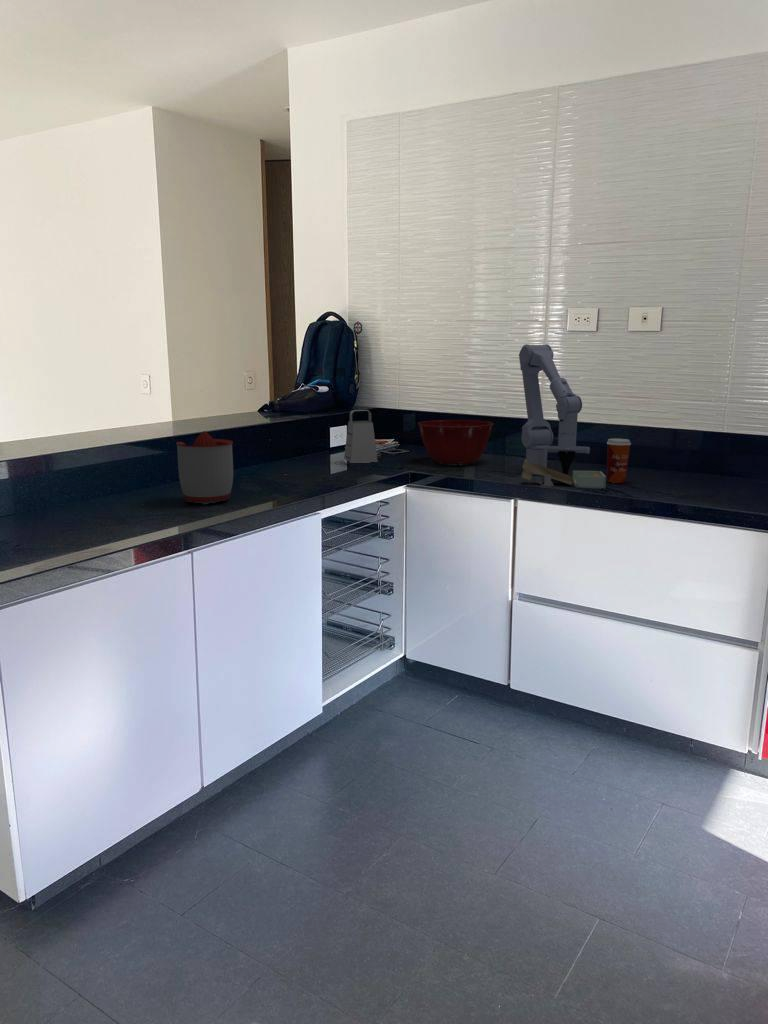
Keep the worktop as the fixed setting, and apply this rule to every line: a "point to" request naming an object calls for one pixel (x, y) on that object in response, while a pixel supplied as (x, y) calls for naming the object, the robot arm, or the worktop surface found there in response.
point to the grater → (360, 441)
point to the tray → (589, 479)
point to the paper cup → (617, 459)
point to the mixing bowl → (455, 440)
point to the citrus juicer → (205, 468)
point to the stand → (546, 480)
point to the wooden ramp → (544, 472)
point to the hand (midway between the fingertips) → (565, 474)
